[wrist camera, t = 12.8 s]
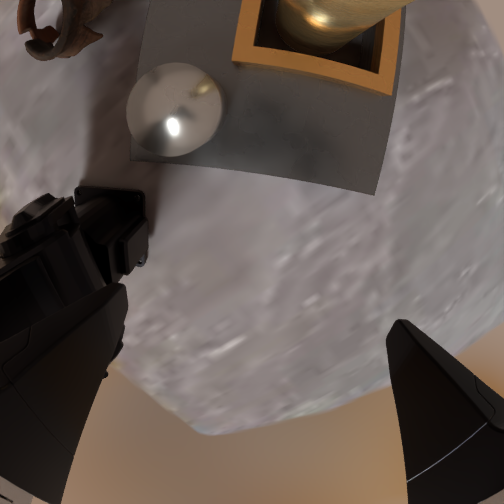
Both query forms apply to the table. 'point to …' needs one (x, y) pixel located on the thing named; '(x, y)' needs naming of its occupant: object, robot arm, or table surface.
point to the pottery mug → (73, 31)
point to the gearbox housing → (261, 97)
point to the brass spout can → (329, 22)
